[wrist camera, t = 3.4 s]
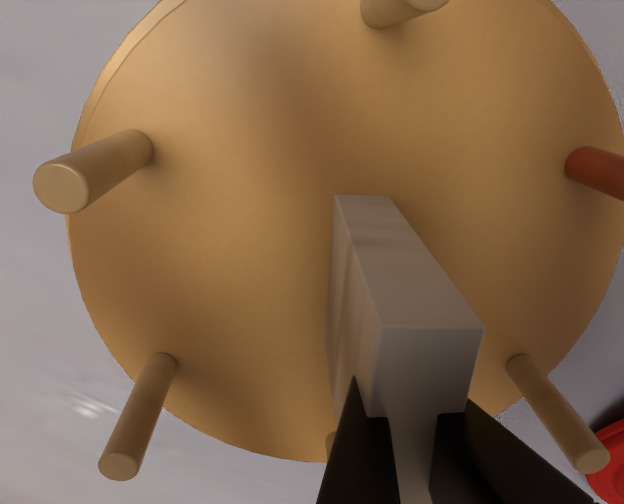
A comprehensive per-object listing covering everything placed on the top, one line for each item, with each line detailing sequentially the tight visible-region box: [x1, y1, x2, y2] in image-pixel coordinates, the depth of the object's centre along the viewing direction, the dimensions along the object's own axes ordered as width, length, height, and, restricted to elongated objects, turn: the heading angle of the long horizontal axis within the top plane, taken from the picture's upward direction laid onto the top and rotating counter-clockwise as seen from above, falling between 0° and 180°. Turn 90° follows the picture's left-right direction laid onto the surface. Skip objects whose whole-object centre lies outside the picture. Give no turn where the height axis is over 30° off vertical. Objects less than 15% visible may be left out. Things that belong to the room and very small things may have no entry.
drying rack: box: [33, 0, 624, 504], centre depth 10 cm, size 17×17×7 cm
